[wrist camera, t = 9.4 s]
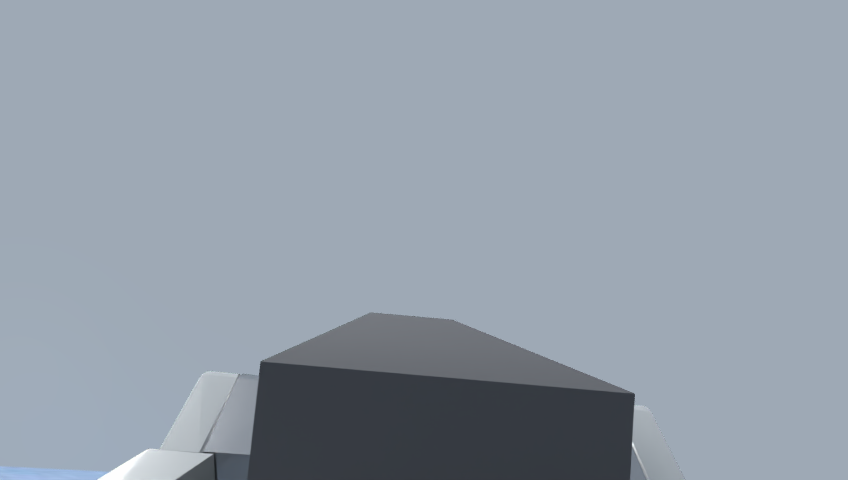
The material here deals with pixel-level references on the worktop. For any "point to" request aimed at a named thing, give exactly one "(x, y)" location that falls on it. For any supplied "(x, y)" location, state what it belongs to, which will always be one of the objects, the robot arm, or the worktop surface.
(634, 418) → the robot arm
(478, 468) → the long grey square rod
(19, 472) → the worktop surface
